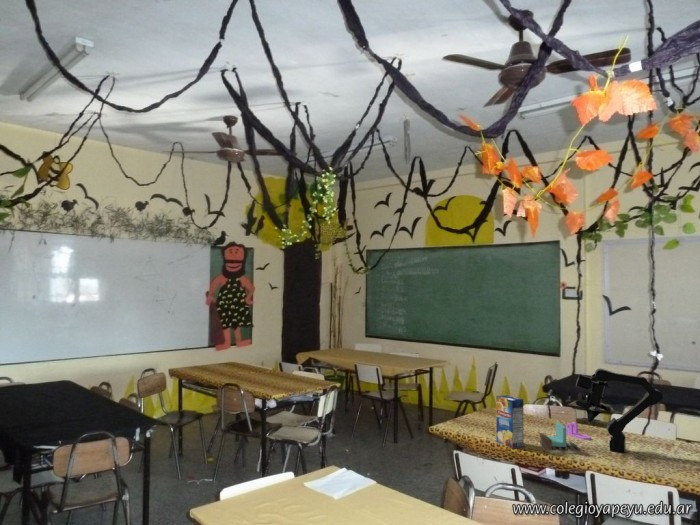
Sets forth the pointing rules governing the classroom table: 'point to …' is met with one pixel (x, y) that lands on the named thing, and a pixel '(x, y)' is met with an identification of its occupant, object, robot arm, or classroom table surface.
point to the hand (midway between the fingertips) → (589, 422)
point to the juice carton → (510, 421)
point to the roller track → (547, 446)
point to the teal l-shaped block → (559, 436)
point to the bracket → (575, 431)
